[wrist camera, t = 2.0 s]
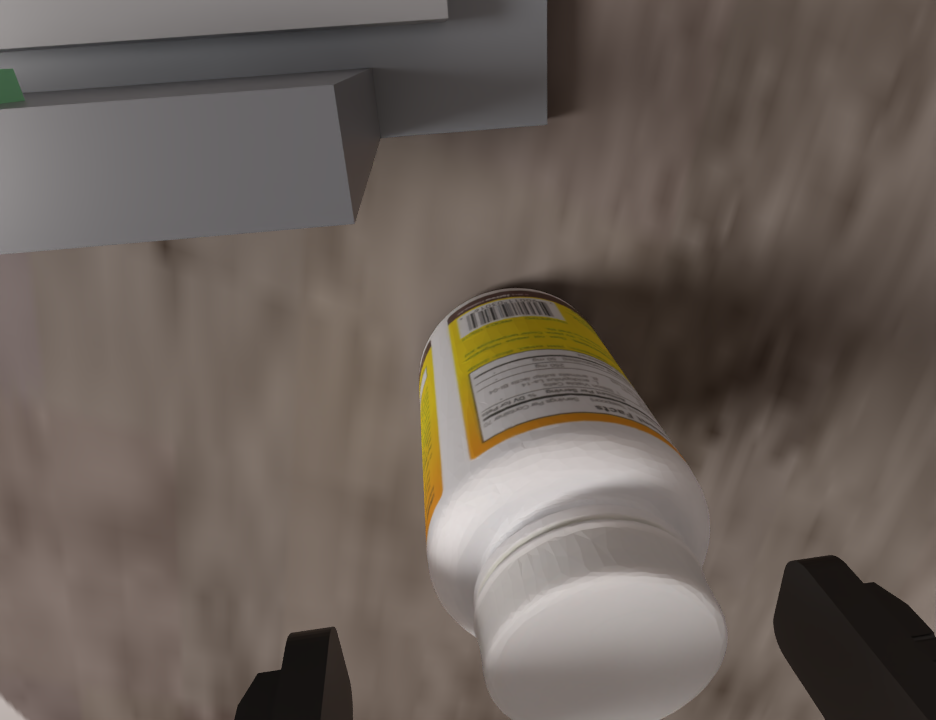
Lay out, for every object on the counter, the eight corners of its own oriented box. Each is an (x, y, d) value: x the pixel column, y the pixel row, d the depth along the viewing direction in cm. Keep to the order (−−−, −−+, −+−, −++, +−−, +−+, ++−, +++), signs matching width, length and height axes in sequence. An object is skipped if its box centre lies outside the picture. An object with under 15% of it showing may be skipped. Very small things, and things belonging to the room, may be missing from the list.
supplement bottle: (506, 468, 20) (587, 804, 11) (380, 373, 18) (354, 691, 9) (633, 358, 19) (845, 644, 10) (511, 240, 17) (636, 465, 8)
